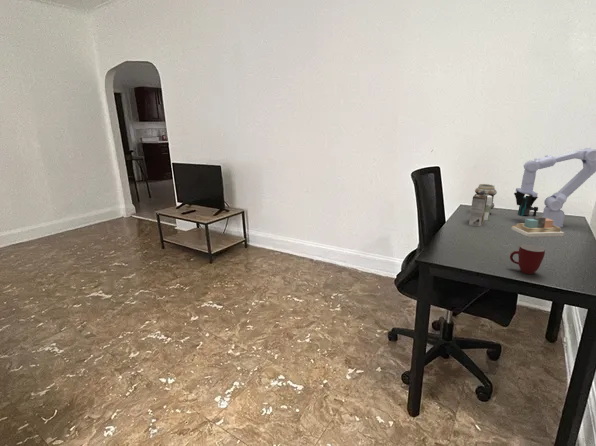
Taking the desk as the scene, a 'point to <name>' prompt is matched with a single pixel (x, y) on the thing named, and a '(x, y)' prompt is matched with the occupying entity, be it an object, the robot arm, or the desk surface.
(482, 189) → the stone pedestal urn
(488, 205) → the syrup box
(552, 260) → the desk surface
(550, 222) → the block
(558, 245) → the desk surface
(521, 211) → the surveillance camera
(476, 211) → the coffee box
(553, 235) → the dock
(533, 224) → the light teal cube
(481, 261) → the desk surface
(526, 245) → the mug
